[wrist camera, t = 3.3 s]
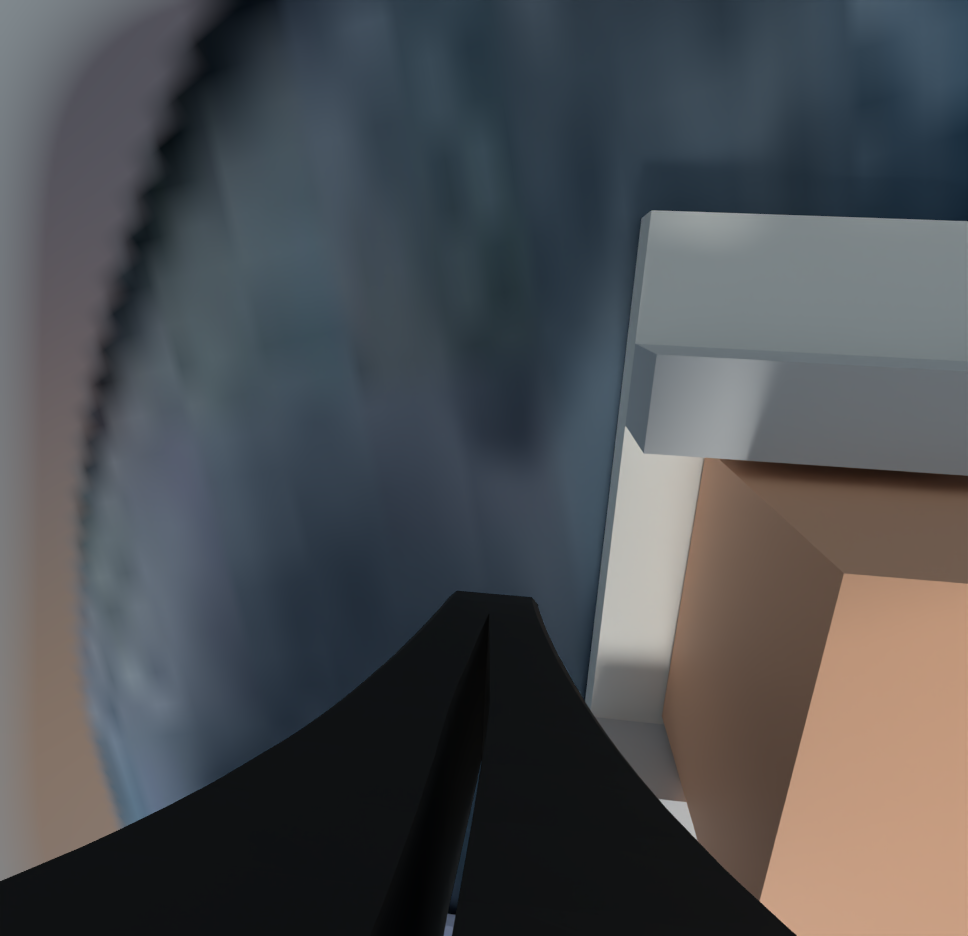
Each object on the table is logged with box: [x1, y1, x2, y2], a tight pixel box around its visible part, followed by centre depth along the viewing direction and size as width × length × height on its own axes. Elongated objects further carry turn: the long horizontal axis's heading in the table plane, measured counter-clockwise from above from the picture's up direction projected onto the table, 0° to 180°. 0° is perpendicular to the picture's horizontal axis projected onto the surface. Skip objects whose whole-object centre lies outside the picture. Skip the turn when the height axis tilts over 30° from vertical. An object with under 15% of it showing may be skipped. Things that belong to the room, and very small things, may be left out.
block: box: [662, 458, 968, 936], centre depth 9 cm, size 5×6×5 cm
